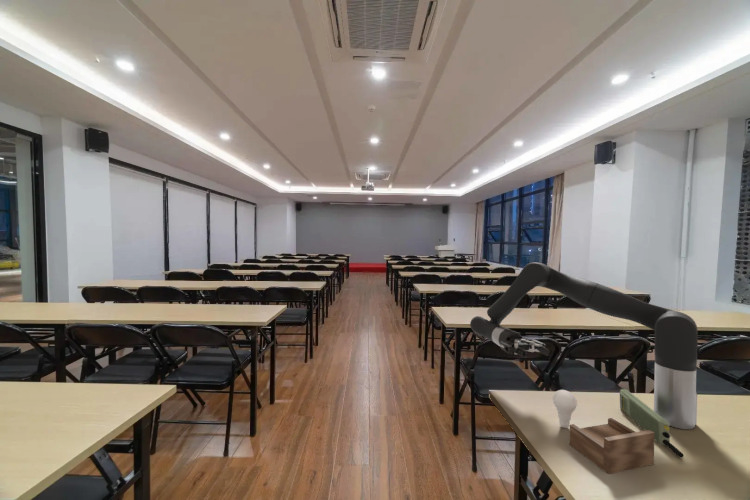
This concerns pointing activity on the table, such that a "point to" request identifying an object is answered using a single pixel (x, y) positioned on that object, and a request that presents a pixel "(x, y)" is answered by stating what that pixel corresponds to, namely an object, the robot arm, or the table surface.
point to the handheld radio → (647, 419)
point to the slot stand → (614, 446)
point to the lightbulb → (564, 406)
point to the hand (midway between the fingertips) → (537, 353)
